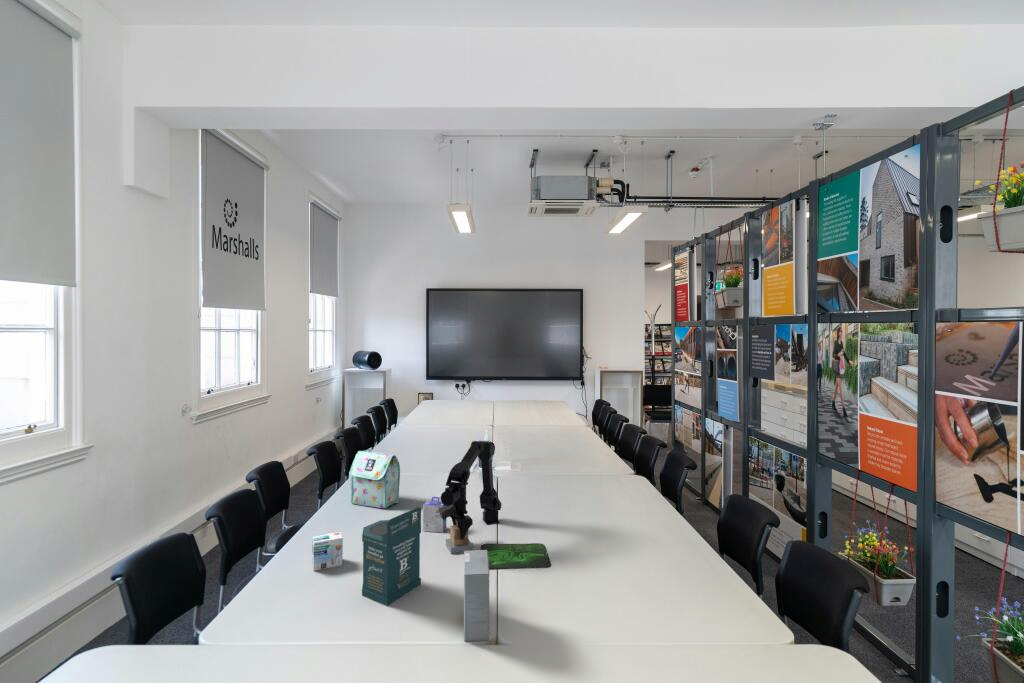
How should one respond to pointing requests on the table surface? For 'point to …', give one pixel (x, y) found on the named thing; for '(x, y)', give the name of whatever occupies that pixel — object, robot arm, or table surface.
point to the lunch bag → (375, 479)
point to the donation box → (391, 557)
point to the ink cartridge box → (433, 516)
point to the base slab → (458, 547)
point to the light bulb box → (327, 551)
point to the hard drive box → (476, 595)
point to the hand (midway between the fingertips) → (459, 535)
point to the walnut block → (457, 536)
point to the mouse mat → (517, 556)
